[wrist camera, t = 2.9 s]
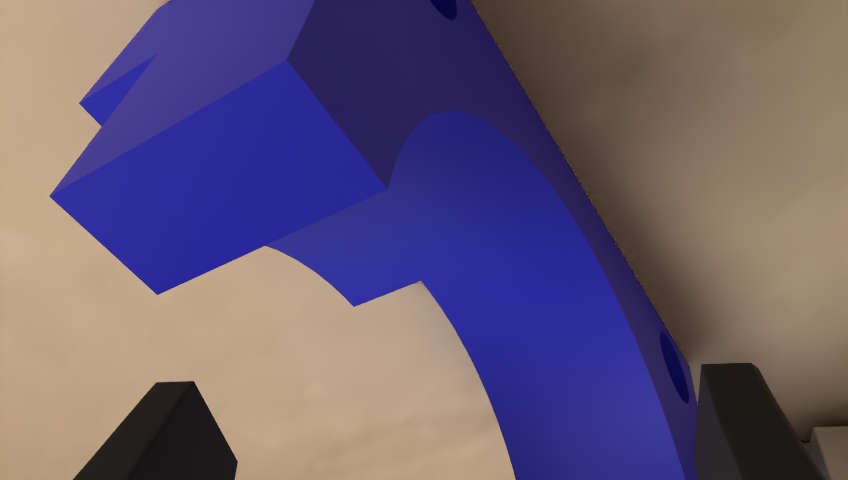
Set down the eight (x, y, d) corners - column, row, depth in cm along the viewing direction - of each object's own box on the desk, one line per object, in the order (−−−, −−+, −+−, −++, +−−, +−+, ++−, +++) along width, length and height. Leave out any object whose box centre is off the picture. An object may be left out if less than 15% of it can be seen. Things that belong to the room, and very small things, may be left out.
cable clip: (158, 8, 13) (-43, 249, 8) (384, -143, 11) (286, 59, 6) (506, 420, 19) (501, 688, 14) (689, 366, 17) (749, 653, 13)
